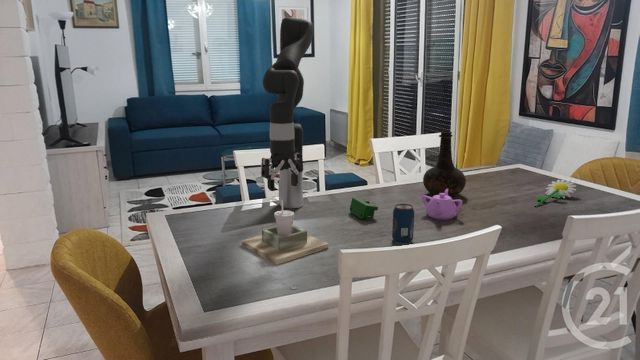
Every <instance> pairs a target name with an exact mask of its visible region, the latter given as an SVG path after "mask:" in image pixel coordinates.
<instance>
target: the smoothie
mask: <svg viewBox="0 0 640 360" xmlns="http://www.w3.org/2000/svg"><path fill="white" fill-rule="evenodd" d="M281 204H282V207H281V210H278V211H275V212H274V216H273V217H274V218H275V223H276V224H275V226H277V232H278V235H279V236H281V237H282V236H286V235H289V234H291V233H292V225H294V224H293V221H294V217H295V212H294V211H292V210H286V209H285V210H284V208H283V200H281Z"/></svg>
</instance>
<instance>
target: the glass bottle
mask: <svg viewBox="0 0 640 360" xmlns="http://www.w3.org/2000/svg"><path fill="white" fill-rule="evenodd" d="M452 133H453V132H452V131H449V130H442V131H440V134H439V135H438V137H439V138H440V141H439V142H440V143H439V152H438V158H437V162H436V164H435V166H433V167H429V169H427V170H426V171H425V173H424V174H423V178H422V184H423V185H424V186H423V187H424V188H425V189H426V191H427V192H428V193H429V194H431V195H432V196H435V195H439V193H444V192H445V190H446V189H448V196H450V197H451V198H452V197H456V196H458V195H460V194H461V193H462V192H463V190H464V189H465V187H466V183H467V179H466V175H465V174H464V172H463V171H461V170H460V169H459V168H457V167H455V164H454V162H453V156H452V155H453V154H452V137H453V136H454V135H453V134H452Z"/></svg>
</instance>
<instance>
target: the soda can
mask: <svg viewBox="0 0 640 360" xmlns="http://www.w3.org/2000/svg"><path fill="white" fill-rule="evenodd" d="M414 227H415V210H414V206H413V205H412V204H408V203H398V204H395V206H394V209H393V211H392V227H391V228H392V230H391V232H392V233H391V237H392V239H393V241H394V242H395V243H396V244H401V245H407V244H411V242H412V241H413V239H414V233H415V232H414V230H415V229H414Z"/></svg>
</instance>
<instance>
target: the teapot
mask: <svg viewBox="0 0 640 360" xmlns="http://www.w3.org/2000/svg"><path fill="white" fill-rule="evenodd" d="M427 199H428V200H429V201H428V203H427ZM421 201H422V203H423V205H424V207H425V212H426V215H427V216H429V217H430V218H431V219H435V220H445V221H447V220H451V219H453V218H455V217H456V216H457V212H458V211H459V209H460V208H461V207H462V205H463V200H462V199H453V198H452V197H450V196H448V189H446V190H445V192H444V193H439V195H435V196H434V195H432V196H428V195H422V198H421ZM456 203H458V204H457V206H456Z"/></svg>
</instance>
